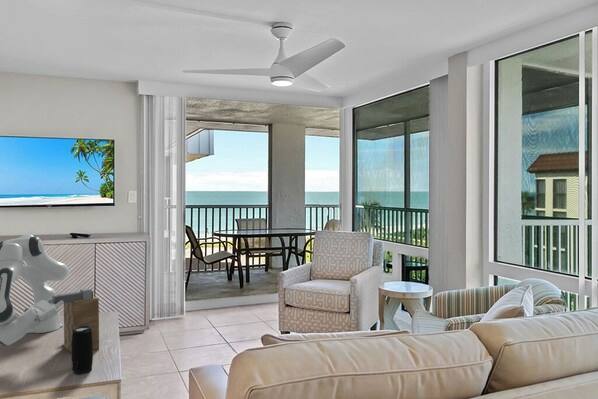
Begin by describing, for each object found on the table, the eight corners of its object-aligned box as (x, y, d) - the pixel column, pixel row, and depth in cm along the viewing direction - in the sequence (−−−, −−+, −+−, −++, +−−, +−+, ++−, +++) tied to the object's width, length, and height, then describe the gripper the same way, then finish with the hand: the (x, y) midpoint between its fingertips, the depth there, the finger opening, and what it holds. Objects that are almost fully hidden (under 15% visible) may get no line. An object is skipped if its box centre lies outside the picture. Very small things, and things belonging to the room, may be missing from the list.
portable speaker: (83, 366, 213) (83, 323, 213) (97, 369, 209) (97, 326, 208) (66, 372, 205) (66, 328, 205) (80, 376, 201) (80, 331, 201)
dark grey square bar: (52, 302, 225) (52, 293, 225) (90, 296, 237) (90, 287, 237) (55, 304, 222) (54, 295, 221) (93, 298, 234) (93, 289, 234)
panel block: (64, 347, 238) (63, 297, 237) (88, 342, 246) (87, 293, 245) (74, 355, 227) (73, 302, 226) (99, 349, 235) (98, 298, 234)
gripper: (34, 317, 208) (63, 298, 216) (23, 309, 223) (49, 290, 231) (42, 328, 211) (70, 308, 219) (30, 318, 226) (56, 300, 234)
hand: (59, 299), depth 225 cm, fingers open, 8 cm apart
